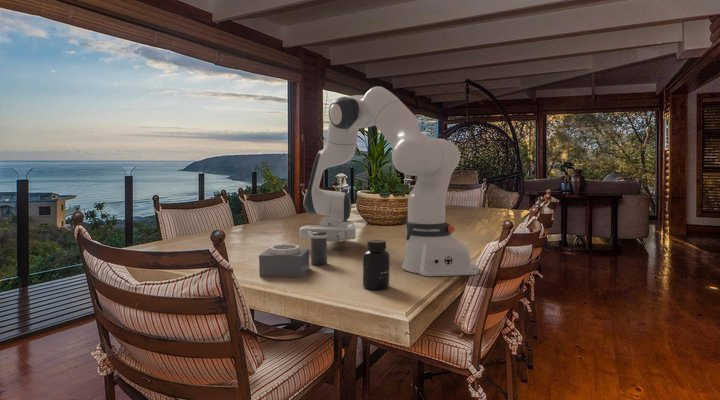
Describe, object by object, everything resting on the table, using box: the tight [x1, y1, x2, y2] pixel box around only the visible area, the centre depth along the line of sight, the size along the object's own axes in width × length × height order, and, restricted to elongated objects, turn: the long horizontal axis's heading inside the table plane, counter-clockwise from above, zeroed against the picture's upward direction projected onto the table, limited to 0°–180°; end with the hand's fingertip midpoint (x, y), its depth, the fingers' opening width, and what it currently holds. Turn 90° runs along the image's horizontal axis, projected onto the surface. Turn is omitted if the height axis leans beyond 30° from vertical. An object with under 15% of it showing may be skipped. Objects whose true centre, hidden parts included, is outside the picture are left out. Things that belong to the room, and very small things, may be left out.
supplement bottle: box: [362, 239, 391, 291], centre depth 109 cm, size 7×7×12 cm
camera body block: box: [258, 243, 310, 278], centre depth 123 cm, size 12×10×8 cm
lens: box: [310, 231, 328, 267], centre depth 133 cm, size 5×5×10 cm
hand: (324, 236), depth 145 cm, fingers open, 8 cm apart
